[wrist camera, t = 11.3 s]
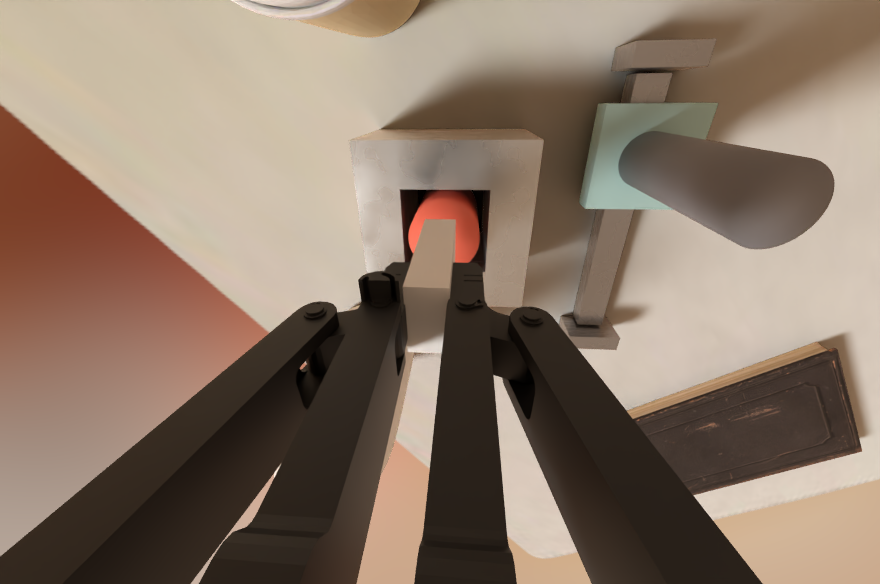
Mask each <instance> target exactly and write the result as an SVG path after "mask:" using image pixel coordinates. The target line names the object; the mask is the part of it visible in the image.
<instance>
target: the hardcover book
mask: <svg viewBox="0 0 880 584" xmlns="http://www.w3.org/2000/svg"><path fill="white" fill-rule="evenodd" d="M627 412H628V413H629V415H630V416H631V417H632V419H633V420H634V421H635V422H636V424H637V425H638V426H639V427H640V429H641V430H642V431H643V432H644V434H645V435H646V436H647V438H648V439H649V440H650V441H651V443H652V444H653V445H654V446H655V448H656V449H657V450H658V452H659V453H660V454H661V455H662V457H663V458H664V459H665V460H666V462H667V463H668V464H669V466H670V467H671V468H672V469H673V471H674V472H675V473H676V474H677V476H678V477H679V478H680V480H681V481H682V482H683V483H684V485H685V486H686V487H687V488H688V490H689V491H690V492H691V493H692V495H696V494H700V493H704V492H707V491H711V490H715V489H719V488H723V487H727V486H731V485H734V484H738V483H742V482H746V481H750V480H754V479H758V478H761V477H765V476H769V475H773V474H777V473H781V472H785V471H788V470H792V469H796V468H800V467H804V466H808V465H812V464H815V463H819V462H823V461H827V460H831V459H835V458H839V457H842V456H846V455H850V454H854V453H858V452H862V448H861V444H860V440H859V436H858V432H857V428H856V424H855V420H854V416H853V412H852V407H851V403H850V399H849V395H848V391H847V387H846V383H845V379H844V375H843V371H842V367H841V362H840V358H839V354H838V350H837V349H836V348H832V349H829V350H827V349H826V348H824V347H822V346H821V345H820V344H819V343H816V342H815V343H812V344H810V345H807V346H804V347H801V348H798V349H796V350H793V351H790V352H787V353H785V354H782V355H779V356H776V357H774V358H771V359H768V360H765V361H763V362H760V363H757V364H754V365H752V366H749V367H746V368H743V369H741V370H738V371H735V372H732V373H730V374H727V375H724V376H721V377H719V378H716V379H713V380H710V381H708V382H705V383H702V384H699V385H697V386H694V387H691V388H688V389H686V390H683V391H680V392H677V393H675V394H672V395H669V396H666V397H664V398H661V399H658V400H655V401H653V402H650V403H647V404H644V405H642V406H639V407H636V408H633V409H631V410H628V411H627Z"/></svg>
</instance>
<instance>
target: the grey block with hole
mask: <svg viewBox="0 0 880 584" xmlns="http://www.w3.org/2000/svg"><path fill="white" fill-rule="evenodd" d="M543 143H544V139H542V138H540V137H538V136H536V135H534V134H533V133H531V132H529V131H527V130H525V129H379V130H376V131H374V132H371V133H368V134H365V135H363V136H360V137H357V138H354V139H351V140H349V144H350V151H351V159H352V166H353V174H354V181H355V189H356V196H357V204H358V211H359V219H360V226H361V234H362V241H363V249H364V256H365V264H366V272H367V273H371V272H375V271H384V270H385V268H386V267H387V266H388V265H390V264H391V263H393V262H411V260H412V257H413V253H412V251H411V248H410V245H409V239H408V234H409V229H410V225H411V223H412V221H413V219H414V217H415V214H416V212H417V210H418V192H417V190H484V194H483V213H482V231H481V233H479V235H480V241H479V247H478V250H477V252H476V254H475V256H474V257H473V258H472V260H471V261H470V262H469V263H477V264H478V265H479V266H480V267H481V268H482V271H483V283H484V296H485V301H486V303H487V306H488V307H522V302H523V294H524V287H525V279H526V271H527V264H528V256H529V249H530V241H531V234H532V226H533V219H534V211H535V203H536V196H537V188H538V181H539V173H540V166H541V158H542V151H543Z"/></svg>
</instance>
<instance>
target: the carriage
mask: <svg viewBox="0 0 880 584" xmlns="http://www.w3.org/2000/svg"><path fill="white" fill-rule="evenodd" d="M717 106H718V103H682V102H664V103H602V104H598V107H597V112H596V117H595V123H594V128H593V133H592V138H591V143H590V148H589V153H588V158H587V163H586V168H585V173H584V178H583V184H582V189H581V194H580V199H579V203H580V204H581V205H582V206H583V207H584V208H585V209H648V210H676V211H678V212H679V213H681V214H683V215H685V216H687V217H689V218H690V219H692V220H694V221H696V222H698V223H700V224H701V225H703V226H705V227H707V228H709V229H711V230H713V231H714V232H716V233H718V234H720V235H722V236H724V237H725V238H727V239H729V240H731V241H733V242H735V243H736V244H738V245H740V246H742V247H745V248H749V249H767V248H772V247H776V246H779V245H782V244H785V243H787V242H789V241H791V240H793V239H795V238H797V237H798V236H800V235H801V234H803V233H804V232H805V231H807V230H808V229H809V228H810V227H812V226H813V225H814V224H815V223H816V222H817V221H818V220H819V218H820V217H821V216H822V215H823V213H824V212H825V210H826V209H827V207H828V205H829V203H830V201H831V199H832V196H833V192H834V177H833V174H832V172H831V171H830V169H829V168H828V167H827V166H826V165H825V164H824V163H822V162H821V161H818V160H816V159H812V158H807V157H801V156H795V155H790V154H784V153H778V152H773V151H767V150H761V149H756V148H750V147H744V146H739V145H733V144H727V143H722V142H716V141H710V140H706V137H707V135H708V132H709V129H710V126H711V123H712V120H713V118H714V115H715V112H716V109H717Z"/></svg>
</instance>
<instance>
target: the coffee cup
mask: <svg viewBox="0 0 880 584" xmlns="http://www.w3.org/2000/svg"><path fill="white" fill-rule="evenodd" d="M231 1H232V2H234V3H236V4H238V5H239V6H241V7H244V8H246V9H248V10H251V11H253V12H255V13H258V14H262V15H265V16H268V17H273V18H279V19H285V20H296V21H300V22H304V23H307V24H311V25H315V26H318V27H322V28H326V29H329V30H333V31H337V32H341V33H345V34H349V35H353V36H359V37H379V36H383V35H386V34H388V33H390V32H392V31H394V30H396V29H397V28H399V27H400V26H401V25H403V24H404V23H405V22H406V21H407V20H408V19H409V17H410V16H411V15H412V13H413V12H414V11H415V9H416V7H417V6H418V4H419V2H420V0H231Z"/></svg>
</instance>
